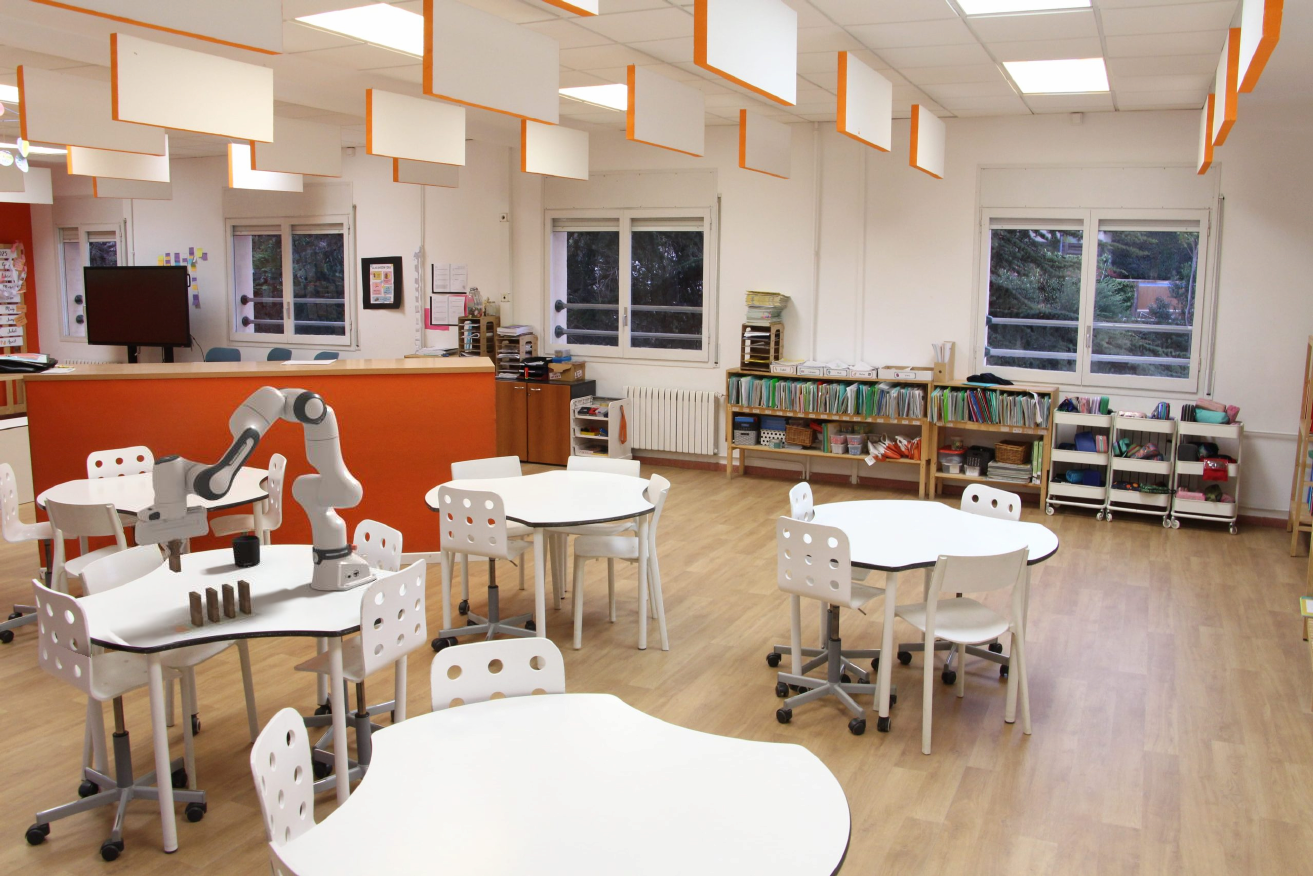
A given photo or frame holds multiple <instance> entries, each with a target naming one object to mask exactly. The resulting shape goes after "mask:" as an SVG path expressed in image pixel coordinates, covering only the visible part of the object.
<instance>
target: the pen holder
mask: <svg viewBox="0 0 1313 876" xmlns="http://www.w3.org/2000/svg"><path fill="white" fill-rule="evenodd" d="M260 541H261V540H260V537H259V536H258V535H256V534H245V535H240V536H236V537H234V538H233V539H232V542H231V543H232V551H233V552H232V553H233V559H234V565H235V566H236V567H237V566H238V567H237V568H249V567H248V566H252V567H254V566H253V565H256V564H258V563H259V564H260V563H261V542H260ZM259 564H258V565H259ZM256 566H257V565H256Z"/></svg>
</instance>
